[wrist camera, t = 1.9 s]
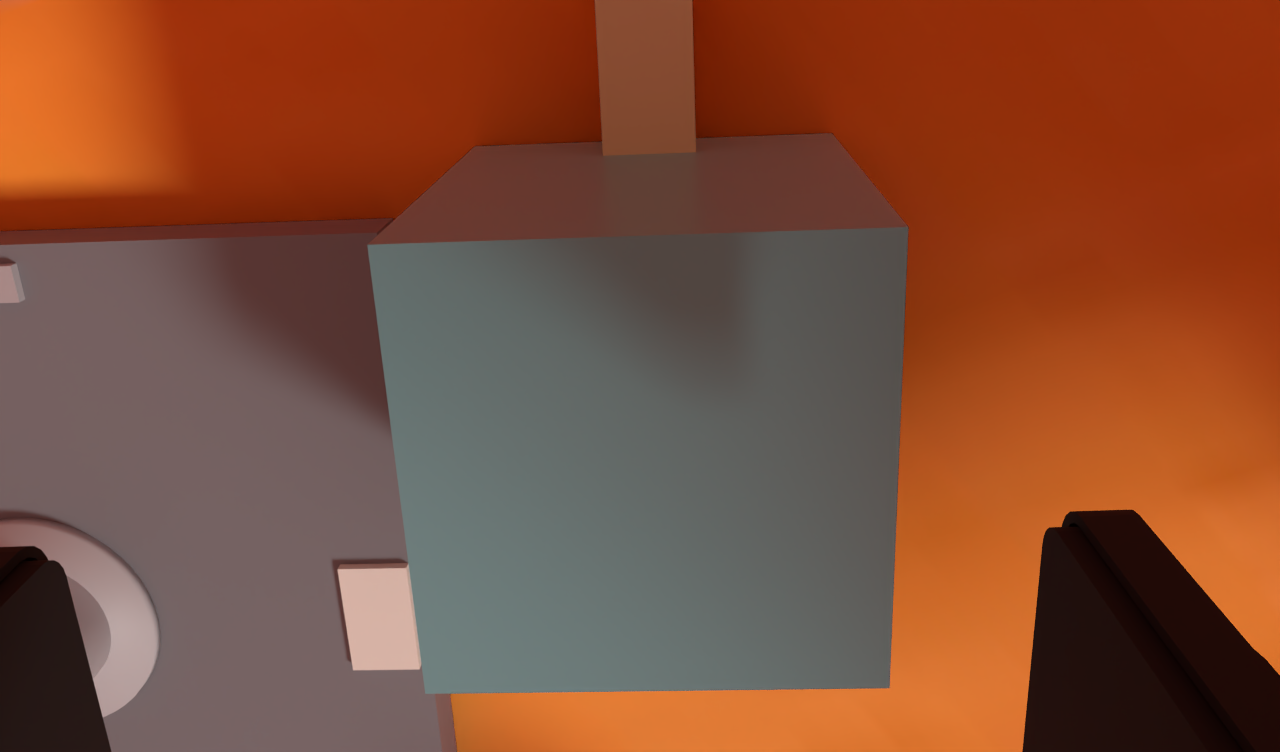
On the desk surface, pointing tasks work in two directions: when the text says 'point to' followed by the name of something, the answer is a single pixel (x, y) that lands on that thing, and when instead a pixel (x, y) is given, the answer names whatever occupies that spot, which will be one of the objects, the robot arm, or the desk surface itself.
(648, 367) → the grey-teal block
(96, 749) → the robot arm
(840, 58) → the desk surface
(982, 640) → the desk surface
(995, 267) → the desk surface
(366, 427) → the post base
